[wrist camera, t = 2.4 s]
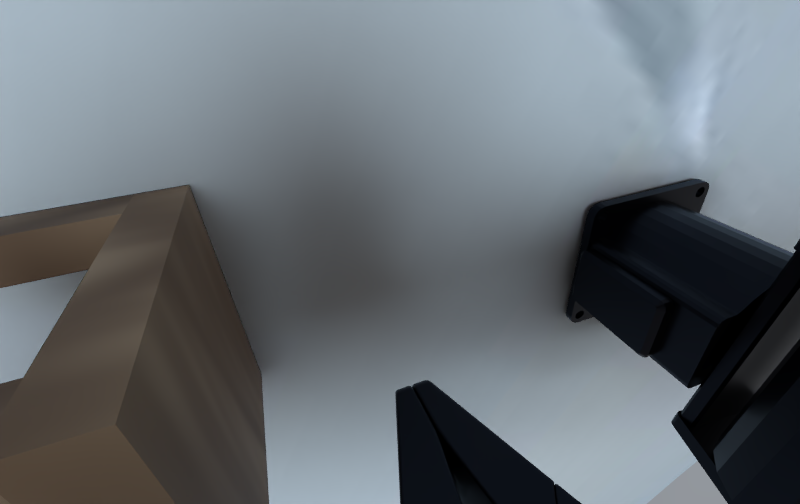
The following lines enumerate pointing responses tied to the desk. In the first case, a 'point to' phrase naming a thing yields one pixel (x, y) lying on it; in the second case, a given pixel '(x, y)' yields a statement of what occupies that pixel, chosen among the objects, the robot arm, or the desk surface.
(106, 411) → the footstool
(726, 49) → the desk surface
